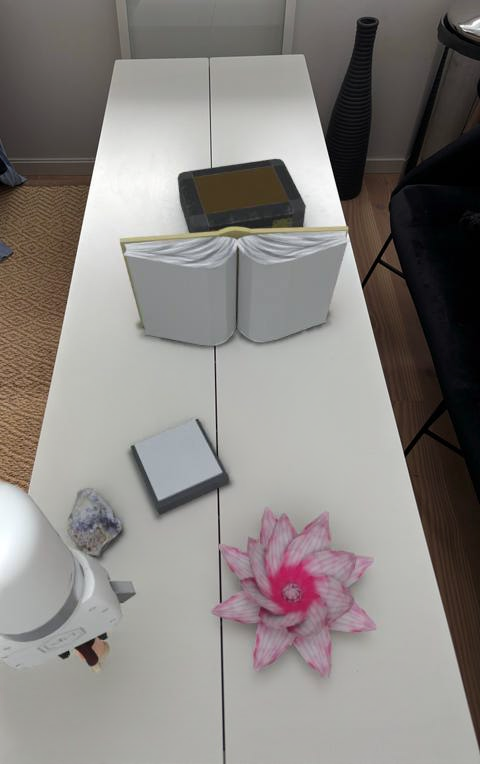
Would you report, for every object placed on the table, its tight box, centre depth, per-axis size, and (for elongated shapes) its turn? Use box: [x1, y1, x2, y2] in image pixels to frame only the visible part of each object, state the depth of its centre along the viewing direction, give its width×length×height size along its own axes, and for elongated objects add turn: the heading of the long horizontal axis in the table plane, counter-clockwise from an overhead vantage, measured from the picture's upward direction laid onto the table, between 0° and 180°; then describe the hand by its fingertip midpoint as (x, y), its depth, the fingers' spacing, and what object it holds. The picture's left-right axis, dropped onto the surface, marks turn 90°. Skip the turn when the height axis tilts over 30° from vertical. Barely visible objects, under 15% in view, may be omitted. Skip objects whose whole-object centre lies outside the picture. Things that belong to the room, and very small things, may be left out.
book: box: [119, 225, 350, 347], centre depth 96 cm, size 36×8×24 cm, turn 95°
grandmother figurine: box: [74, 637, 111, 674], centre depth 58 cm, size 8×4×13 cm, turn 39°
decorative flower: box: [210, 505, 378, 679], centre depth 72 cm, size 21×21×15 cm
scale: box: [130, 418, 230, 516], centre depth 88 cm, size 12×12×3 cm
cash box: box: [177, 158, 307, 233], centre depth 123 cm, size 25×20×8 cm
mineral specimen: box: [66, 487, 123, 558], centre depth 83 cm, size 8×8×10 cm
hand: (81, 633), depth 57 cm, fingers closed on grandmother figurine, 3 cm apart
